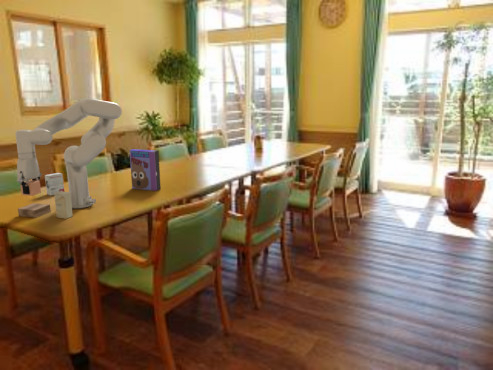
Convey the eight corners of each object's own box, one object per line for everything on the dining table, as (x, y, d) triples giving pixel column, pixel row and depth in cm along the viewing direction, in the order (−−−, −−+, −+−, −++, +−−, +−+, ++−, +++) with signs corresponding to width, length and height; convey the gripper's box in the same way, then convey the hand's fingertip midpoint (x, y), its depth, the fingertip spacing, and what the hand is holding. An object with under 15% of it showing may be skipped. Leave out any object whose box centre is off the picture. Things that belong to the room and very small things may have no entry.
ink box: (60, 191, 244) (58, 172, 241) (65, 192, 241) (62, 173, 238) (46, 194, 237) (44, 174, 235) (50, 195, 234) (48, 175, 232)
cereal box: (132, 188, 250) (129, 150, 245) (136, 186, 254) (134, 148, 249) (156, 191, 244) (153, 151, 238) (160, 189, 248) (158, 150, 243)
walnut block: (50, 212, 204) (49, 204, 203) (35, 218, 195) (34, 210, 194) (34, 210, 207) (33, 203, 206) (18, 216, 198) (17, 208, 197)
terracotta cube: (41, 192, 201) (39, 180, 199) (32, 195, 195) (31, 183, 194) (30, 192, 202) (28, 180, 201) (21, 195, 196) (20, 182, 195)
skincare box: (56, 217, 195) (53, 193, 192) (63, 214, 199) (60, 190, 196) (66, 218, 193) (63, 194, 190) (73, 216, 197) (70, 192, 194)
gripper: (32, 152, 203) (36, 187, 207) (6, 158, 187) (11, 196, 191) (46, 153, 202) (49, 188, 206) (20, 159, 185) (25, 197, 189)
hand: (31, 191), depth 198 cm, fingers closed on terracotta cube, 6 cm apart
